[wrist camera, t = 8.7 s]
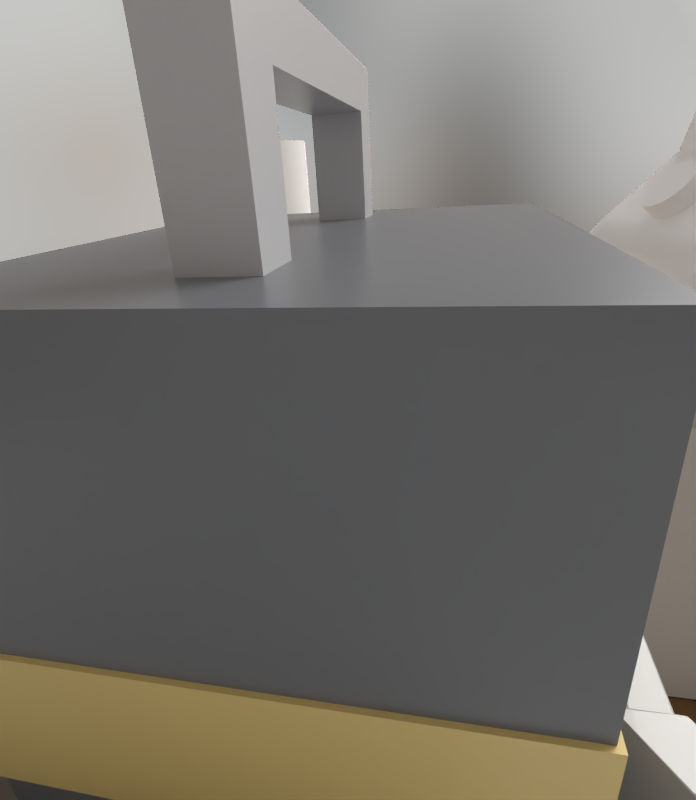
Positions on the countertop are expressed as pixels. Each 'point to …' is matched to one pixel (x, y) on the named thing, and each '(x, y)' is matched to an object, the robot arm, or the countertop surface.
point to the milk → (660, 217)
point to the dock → (677, 590)
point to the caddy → (325, 465)
